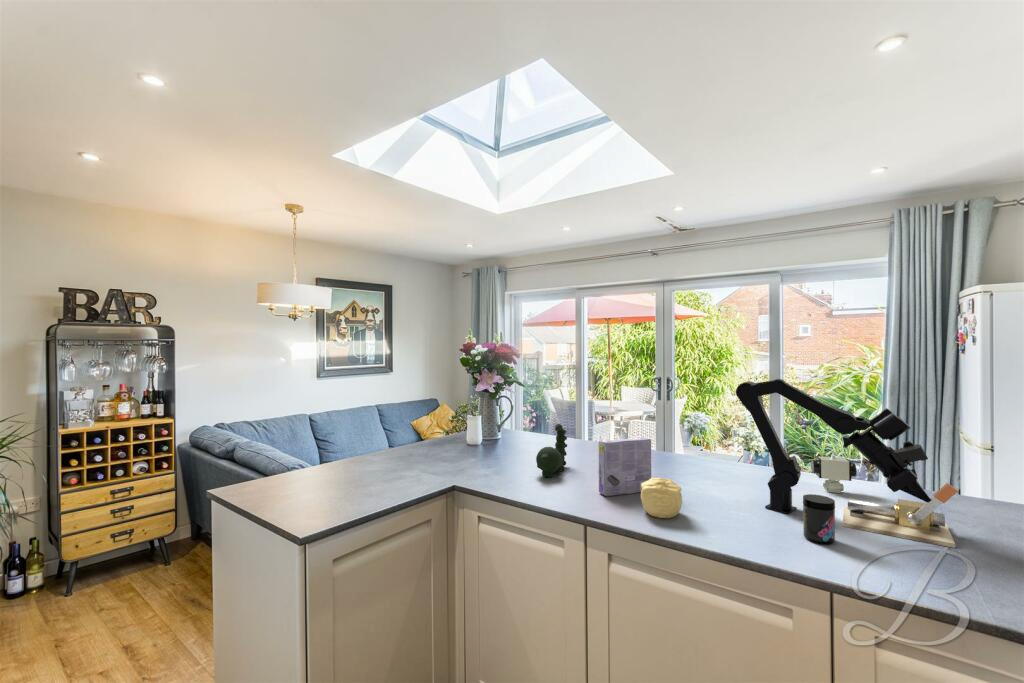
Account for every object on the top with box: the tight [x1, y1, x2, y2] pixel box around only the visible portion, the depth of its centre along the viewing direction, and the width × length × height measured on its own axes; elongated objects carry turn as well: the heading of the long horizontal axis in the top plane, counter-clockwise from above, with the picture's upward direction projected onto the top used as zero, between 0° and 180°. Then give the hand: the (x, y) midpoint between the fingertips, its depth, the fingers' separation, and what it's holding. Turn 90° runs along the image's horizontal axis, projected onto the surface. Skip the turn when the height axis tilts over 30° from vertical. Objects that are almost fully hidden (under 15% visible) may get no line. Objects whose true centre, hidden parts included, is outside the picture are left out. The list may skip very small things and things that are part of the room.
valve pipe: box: [847, 498, 946, 532], centre depth 124 cm, size 20×5×6 cm, turn 52°
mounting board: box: [842, 506, 956, 549], centre depth 122 cm, size 22×15×1 cm
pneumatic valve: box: [810, 454, 857, 494], centre depth 151 cm, size 6×12×12 cm, turn 68°
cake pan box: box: [598, 437, 652, 497], centre depth 153 cm, size 19×5×18 cm, turn 108°
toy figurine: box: [535, 423, 568, 479], centre depth 176 cm, size 9×19×25 cm
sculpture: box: [640, 476, 683, 519], centre depth 133 cm, size 11×12×11 cm
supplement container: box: [802, 493, 836, 546], centre depth 115 cm, size 7×7×10 cm
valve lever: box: [907, 482, 959, 526], centre depth 116 cm, size 3×2×14 cm
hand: (929, 501), depth 116 cm, fingers closed, pressing on valve lever
